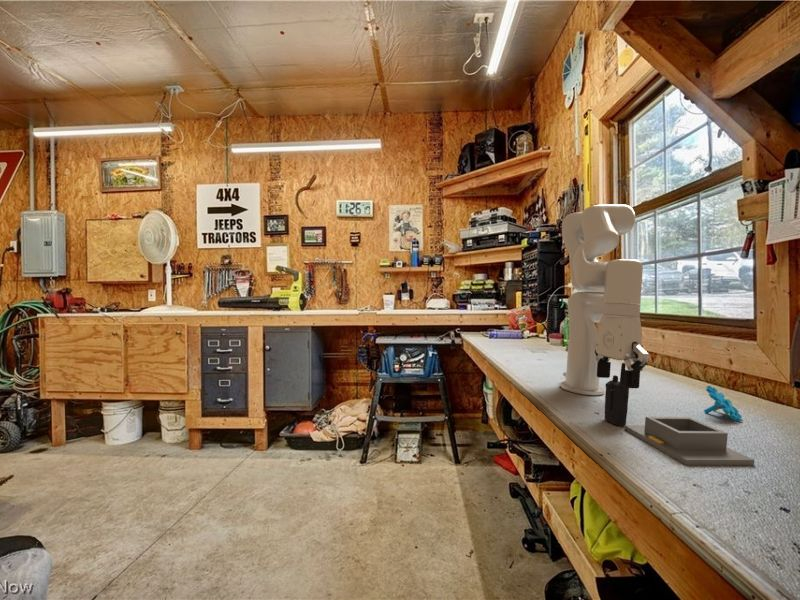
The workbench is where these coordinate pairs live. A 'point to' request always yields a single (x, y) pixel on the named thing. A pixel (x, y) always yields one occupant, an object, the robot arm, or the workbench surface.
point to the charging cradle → (689, 441)
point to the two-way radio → (616, 399)
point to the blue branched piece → (722, 404)
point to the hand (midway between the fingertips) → (616, 382)
